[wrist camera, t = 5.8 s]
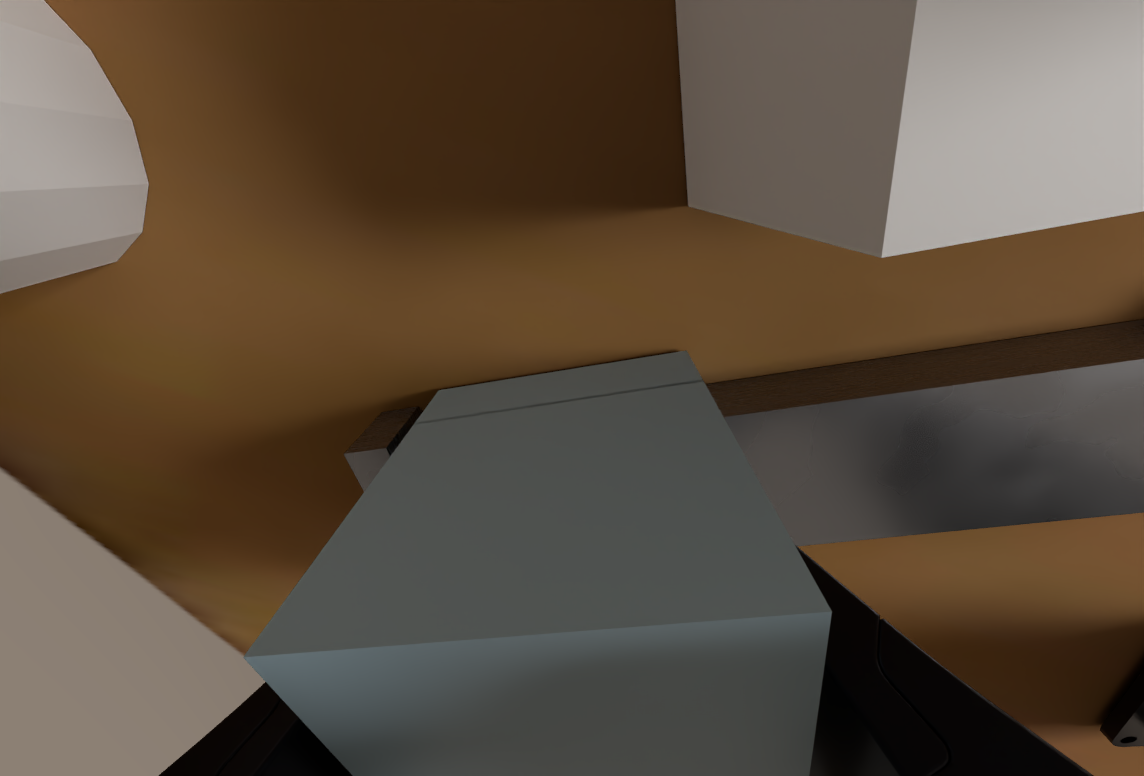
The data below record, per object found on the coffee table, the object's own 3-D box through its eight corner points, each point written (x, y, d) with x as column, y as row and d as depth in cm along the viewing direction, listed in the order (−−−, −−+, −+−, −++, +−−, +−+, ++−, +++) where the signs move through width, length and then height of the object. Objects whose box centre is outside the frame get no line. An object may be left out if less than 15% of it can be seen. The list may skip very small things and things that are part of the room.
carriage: (700, 539, 12) (797, 860, 6) (503, 559, 13) (432, 862, 7) (686, 350, 9) (831, 610, 4) (438, 390, 10) (243, 658, 4)
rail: (1194, 474, 10) (1305, 528, 9) (447, 553, 13) (426, 607, 11) (1321, 265, 8) (1503, 286, 6) (381, 412, 10) (343, 453, 9)
